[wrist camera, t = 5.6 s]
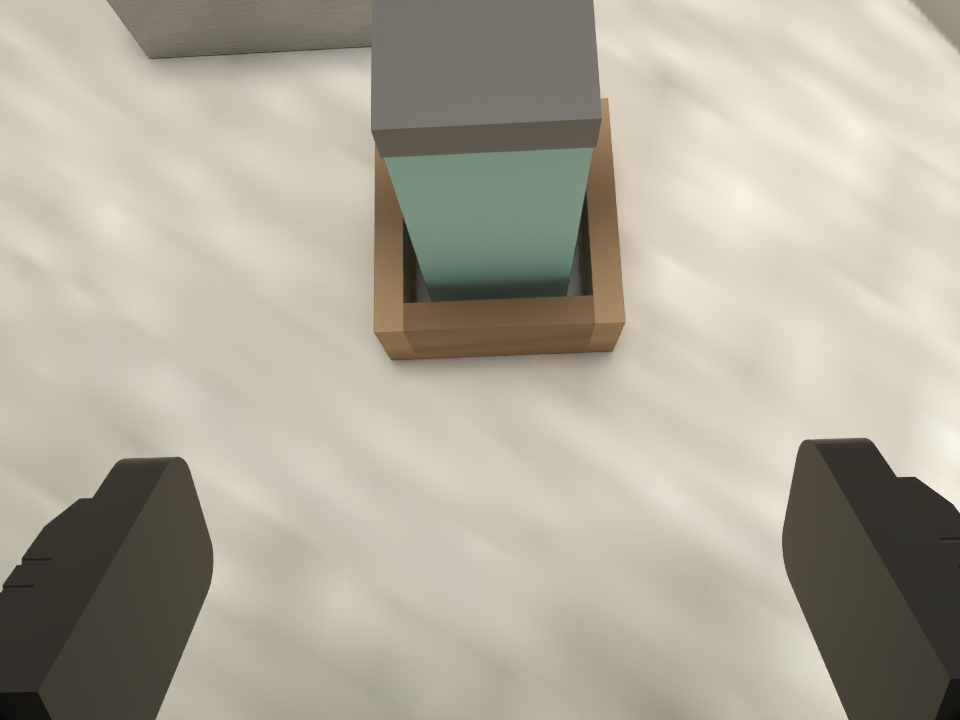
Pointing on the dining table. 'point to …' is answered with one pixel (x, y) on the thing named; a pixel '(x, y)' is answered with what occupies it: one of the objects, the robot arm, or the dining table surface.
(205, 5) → the port
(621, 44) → the dining table surface
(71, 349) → the dining table surface
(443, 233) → the plug
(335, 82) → the dining table surface
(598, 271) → the brown wooden square frame
